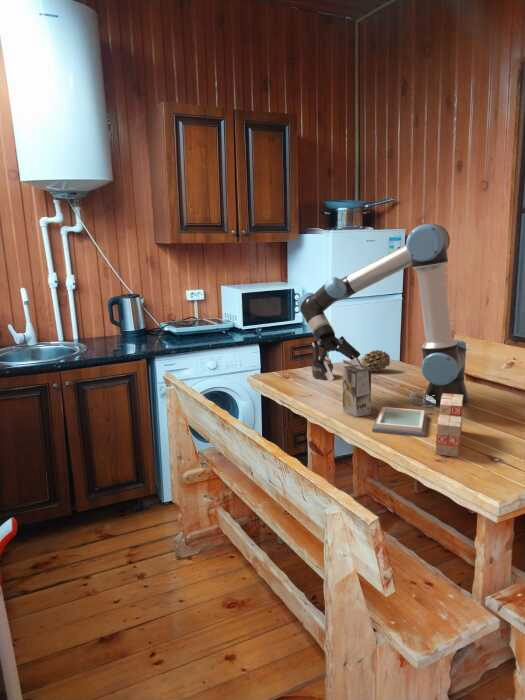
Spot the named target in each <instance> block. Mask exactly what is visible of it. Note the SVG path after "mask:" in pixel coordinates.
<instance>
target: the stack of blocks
mask: <svg viewBox="0 0 525 700" xmlns="http://www.w3.org/2000/svg"><path fill="white" fill-rule="evenodd" d="M463 406H464V405H463V395H459V394H446V393H442V398H441V403H440V405H439V416H438V418H437V425H436V427H437V428H436V429H437V431H436V437H435V439H436V440H435V455H439V456H441V455H442V456H449V457H456V458H458V457H459V452H460V442H461V436H462V435H461V434H462V429H463V428H462V425H463V423H462V421H463V409H464V408H463Z"/></svg>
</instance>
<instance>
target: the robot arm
mask: <svg viewBox="0 0 525 700" xmlns="http://www.w3.org/2000/svg"><path fill="white" fill-rule="evenodd" d="M450 237H451V236H450V234H449V232H448V230H447V229H446V228H445V227H443V225H442V226H441V225H440V224H433V223H424V224H421V225H418V226H416V227H415V228H413V229H412V230H411V231H410V232H409V234H408V235H407V238H406V242H405V244H403V246H400V247H399V248H397V249H395V250H393V251H391V252H390V253H389V252H388V254H385V255H384V256H382V257H380V258H378V259H376V260H374V261H373V262H371V263H369V264H367V265H365V266H364V267H362V268H360V269H359V268H358V270H355V271H354V272H352V273H350V274H348V275H347V276H344V277H342V278H338V277H334V276H333V277H331V278H330V279H329V280H327V281H326V282H325V283H324V284H323V285H322V286H321V287H320V288H319V289H318V290H316V292H314V293H313V292H306V293H304V294H302V295H301V296H300V297H298V299H297V306H298V309H299V311H300V313H301V314H302V316H303V318H304V319H305V321H306V324H307V326H308V328H309V330H310V333H312V336H313V337H314V340H313V341H312V343H311V347H312V364H313V365H314V366H316V365H317V367H318V368H320V369H321V370H322V372H323V374H325V375H326V377H327V379H326V380H327V381H328V382H329V383H331V382H332V381H333V380H334V379H335V377H334V375H333V372H332V373H331V371H330V369H329V367H328V365H327V363H324V360H325V356H326V355H327V352H329V353H330V352H337V353H340V354H341V355H343V356H345V357H346V358H348V359H349V360H351V361H350V362H351V363H352V365H359V366H361V363H362V362H360V360H359V357H360V356H361V353H360V352H359V351H358V349H356V348H355V347H354V346H353V345H351V343H349V342H348V341H347V340H346V338H345V337H344V336H340V337H339V338H337V337H336V333H335V330H334V329H333V327H332V325H331V323H330V321H329V319H328V317H327V316H326V314H325V311H326V310H327V309H329V307H331V306H332V305H333V304H335V303H336V302H339V301H342V300H347V299H348V298H350V297H351V296H353V295H355V294H357V293H359V292H362V291H363V290H365V289H366V288H368V287H371V286H372V285H374V284H377V283H378V282H380V281H382V280H384V279H386V278H388V277H391V276H392V275H394V274H396V273H399V272H400V271H402V270H404V269H406V268H408V267H410V266H411V268H412V269H413V270H414V271H415V272H416V273H417V280H418V287H419V288H418V290H419V295H420V305H421V306H420V307H421V313H422V321H423V329H424V336H425V337H424V339H425V342H424V343H423V344H422V346H421V350H422V358H423V359H422V363H421V373H422V376H423V377H424V379H425V380H426V381H428V382H429V384H428V386H427V388H426V391H425V395H426V394H427V395H429V396H432V395H435V396H432V397H433V398H434V399H435V400H436V404H435V405H438V406H440V403H441V398H442V393H446V394H459V395H463V406H464V405H466V404H468V403H469V394H468V390H467V387H466V383H465V376H466V375H465V373H466V359H467V358H466V357H467V356H466V355H467V350H468V349H467V343H466V342H465V340H459V339H458V340H457V339H453V336H452V329H451V327H452V326H451V319H450V309H449V302H448V293H447V285H446V284H447V283H446V277H445V276H446V275H445V267H446V266H447V264H448V263H449V261H448V260H449V259H448V248H449V247H450V243H451V238H450ZM320 348H321V350H320ZM320 351H321V352H320ZM319 355H320V359H319Z"/></svg>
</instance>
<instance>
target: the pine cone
mask: <svg viewBox="0 0 525 700" xmlns="http://www.w3.org/2000/svg"><path fill="white" fill-rule="evenodd" d="M390 359H391V356H390V355H389V353H387V352H386V351H382V350H379V349H377V350H371V351H370V352H369V353H365V354H364V356H363V357H361V362H360V363H361V366H362V367H364V368H367V369H370V370H371V373H374V372H380V371H381V370H383V369H386V368H387V367H389V366H390V365H391V360H390ZM342 362H343V364H345V365H347V366H351V365H352V363H351V361H348V360H346V359H342Z"/></svg>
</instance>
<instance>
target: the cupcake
mask: <svg viewBox="0 0 525 700" xmlns="http://www.w3.org/2000/svg"><path fill="white" fill-rule="evenodd" d="M320 355H321V354H319V359H320ZM324 363H327V365H328V367H329V369H330V371H331V373H332V374H333V370H334V365H333V363H332V360H331V358H330V357H329V356H328V354H326V356H325V360H324ZM310 369H311V373H312V378H313V377H314V378H315V380H319V379H320V380H321V381H324V380H325V381H326V380H328V379H327V377H326V375H325V374H323V372H322V370H321V369H320V368H318V367H317V365H316V366H314V365H313V363H312V365H311V367H310ZM314 378H313V379H314ZM320 380H319V381H320Z"/></svg>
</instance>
